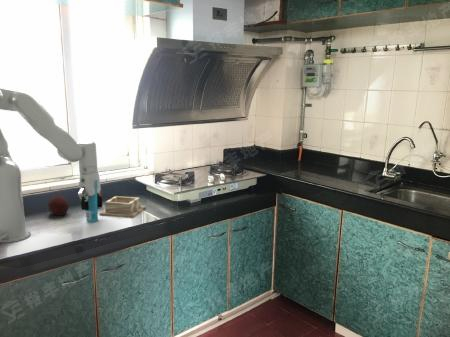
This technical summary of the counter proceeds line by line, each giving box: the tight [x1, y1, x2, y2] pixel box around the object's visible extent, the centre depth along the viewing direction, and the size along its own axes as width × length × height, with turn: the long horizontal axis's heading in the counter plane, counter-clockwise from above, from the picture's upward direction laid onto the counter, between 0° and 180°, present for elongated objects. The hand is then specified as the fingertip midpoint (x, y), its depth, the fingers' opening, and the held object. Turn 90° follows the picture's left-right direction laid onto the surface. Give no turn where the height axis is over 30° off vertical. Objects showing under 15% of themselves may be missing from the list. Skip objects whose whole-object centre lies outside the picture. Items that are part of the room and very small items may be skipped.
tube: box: [84, 180, 99, 223], centre depth 172 cm, size 7×5×19 cm, turn 96°
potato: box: [47, 195, 70, 216], centre depth 181 cm, size 9×12×9 cm
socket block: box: [98, 195, 146, 219], centre depth 186 cm, size 15×17×6 cm
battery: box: [97, 189, 103, 209], centre depth 192 cm, size 4×7×10 cm, turn 136°
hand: (91, 206), depth 172 cm, fingers open, 9 cm apart
